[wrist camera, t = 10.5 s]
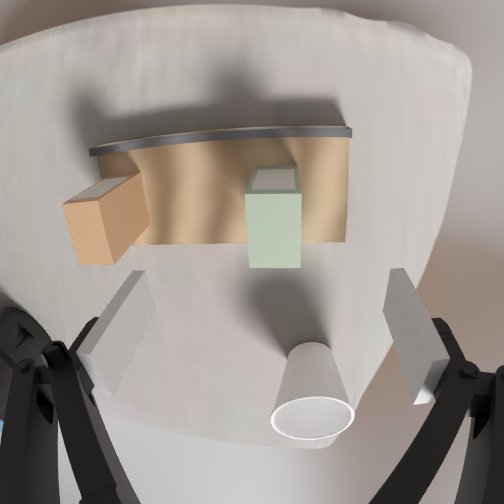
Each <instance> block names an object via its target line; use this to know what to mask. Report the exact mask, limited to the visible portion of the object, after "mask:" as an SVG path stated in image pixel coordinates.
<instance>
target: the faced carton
mask: <svg viewBox="0 0 504 504" xmlns="http://www.w3.org/2000/svg"><path fill="white" fill-rule="evenodd" d="M62 205H63V209H64V213H65V217H66V221H67V224H68V228H69V232H70V235H71V239H72V242H73V246H74V249H75V252H76V255H77V259H78V262H79V265H114V264H115V263H116V262H117V261H118V260H119V259H120V258H121V256H122V255H123V254H124V253H125V252H126V251H127V249H128V248H129V247H130V246H131V245H132V244H133V243H134V242H135V240H136V239H137V238H138V237H139V236H140V235H141V234H142V233H143V232H144V230H145V229H146V228H147V227H148V226H149V225H150V221H149V216H148V210H147V205H146V199H145V194H144V188H143V182H142V176H141V172H135V173H127V174H118V175H110V176H108V177H106V178H104V179H103V180H101V181H99V182H97V183H96V184H94V185H92V186H91V187H89V188H88V189H86V190H84V191H83V192H81V193H79V194H78V195H76V196H75V197H73V198H71V199H70V200H68V201H67V202H65V203H64V204H62Z"/></svg>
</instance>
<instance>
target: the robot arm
mask: <svg viewBox="0 0 504 504" xmlns="http://www.w3.org/2000/svg"><path fill="white" fill-rule="evenodd" d="M154 313H155V307H154V304H153V300H152V296H151V293H150V289H149V285H148V281H147V277H146V273H145V271H132V272H131V274H130V275H129V277H128V278H127V279H126V281H125V282H124V283H123V285H122V286H121V287H120V289H119V290H118V292H117V293H116V294H115V296H114V297H113V299H112V300H111V301H110V303H109V304H108V306H107V307H106V308H105V310H104V311H103V313H102V314H101V316H100V317H94V318H93V319H91V320H90V321H89V322H88V323H87V324H86V325H85V327H84V328H83V329H82V331H81V332H80V334H79V335H78V337H77V338H76V339H75V341H74V342H73V344H72V345H71V347H70V348H69V350H67V348H66V346H65V344H64V342H62V341H51V340H50V338H49V337H48V335H47V334H46V332H45V331H44V330H43V329H42V328H41V327H40V326H39V325H38V324H37V323H36V322H35V321H34V320H33V319H32V318H31V317H30V316H28V315H27V314H25V313H24V312H22V311H21V310H19V309H16V308H13V307H5V308H3V309H2V310H1V311H0V432H1V431H2V436H1V444H0V504H60V496H59V481H58V445H57V444H58V421H59V425H60V429H61V433H62V437H63V440H64V444H65V447H66V451H67V454H68V458H69V461H70V464H71V467H72V470H73V473H74V476H75V479H76V482H77V485H78V487H79V490H80V493H81V496H82V499H81V500H80V501H79V504H141V503H140V501H139V499H138V497H137V496H136V494H135V492H134V490H133V488H132V486H131V484H130V482H129V480H128V478H127V476H126V474H125V472H124V469H123V467H122V465H121V463H120V461H119V459H118V456H117V454H116V452H115V450H114V447H113V445H112V443H111V440H110V438H109V436H108V433H107V431H106V428H105V425H104V423H103V420H102V418H101V415H100V412H99V410H98V407H97V404H96V401H95V399H94V396H93V394H92V393H91V391H92V389H93V388H94V386H95V388H96V390H97V392H98V393H99V394H101V395H106V396H111V397H113V395H114V393H115V391H116V388H117V386H118V384H119V382H120V380H121V378H122V376H123V374H124V372H125V370H126V368H127V366H128V364H129V362H130V360H131V358H132V356H133V354H134V352H135V350H136V348H137V346H138V344H139V342H140V340H141V338H142V336H143V334H144V332H145V330H146V328H147V326H148V324H149V322H150V320H151V318H152V316H153V315H154ZM383 313H384V315H385V318H386V321H387V324H388V327H389V329H390V332H391V335H392V338H393V341H394V344H395V347H396V350H397V353H398V356H399V359H400V362H401V365H402V369H403V372H404V375H405V378H406V382H407V385H408V388H409V392H410V395H411V399H412V402H413V405H415V404H422V403H429V401H430V399H431V398H432V396H433V394H434V397H435V400H436V402H435V404H434V406H433V408H432V410H431V411H430V413H429V415H428V416H427V418H426V420H425V422H424V423H423V425H422V427H421V429H420V430H419V432H418V434H417V435H416V437H415V438H414V440H413V442H412V443H411V445H410V446H409V448H408V449H407V451H406V453H405V454H404V456H403V457H402V459H401V460H400V462H399V463H398V464H397V466H396V467H395V469H394V470H393V472H392V473H391V474H390V476H389V477H388V479H387V480H386V482H385V483H384V484H383V486H382V487H381V488H380V489H379V491H378V492H377V493H376V495H375V496H374V497H373V498H372V500H371V501H370V502H369V504H418V503H419V501H420V500H421V498H422V497H423V495H424V493H425V492H426V490H427V488H428V487H429V485H430V484H431V482H432V480H433V478H434V477H435V475H436V473H437V471H438V470H439V468H440V466H441V464H442V462H443V461H444V458H445V457H446V455H447V453H448V451H449V449H450V447H451V445H452V443H453V441H454V439H455V437H456V435H457V433H458V430H459V428H460V426H461V424H462V422H463V419H464V417H472V419H471V427H470V433H469V439H468V445H467V451H466V456H465V461H464V467H463V471H462V475H461V480H460V484H459V488H458V492H457V496H456V499H455V503H454V504H504V365H503V366H500V367H499V368H498V369H497V371H496V372H495V373H487V372H481V371H480V370H479V368H478V367H477V366H476V365H475V364H473V363H472V362H469V361H466V359H465V357H464V355H463V353H462V351H461V349H460V347H459V345H458V343H457V341H456V340H455V337H454V335H453V334H452V331H451V330H450V328H449V326H448V324H447V323H446V322H445V321H443V320H442V319H441V318H430V316H429V314H428V312H427V310H426V308H425V306H424V304H423V302H422V300H421V298H420V297H419V295H418V293H417V291H416V289H415V287H414V285H413V284H412V282H411V280H410V278H409V276H408V275H407V273H406V271H405V269H404V268H397V269H391V270H390V276H389V281H388V287H387V292H386V298H385V303H384V308H383Z"/></svg>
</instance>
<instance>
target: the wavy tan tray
mask: <svg viewBox="0 0 504 504" xmlns="http://www.w3.org/2000/svg"><path fill="white" fill-rule="evenodd" d="M349 138H352V129H351V128H349V127H348V126H331V125H292V126H259V127H240V128H225V129H213V130H201V131H191V132H182V133H173V134H165V135H157V136H150V137H143V138H136V139H130V140H124V141H118V142H112V143H106V144H101V145H98V146H95V147H94V148H91V149H89V153H90V157H91V156H96V155H98V158H99V164H100V169H101V175H102V180H103V179H104V178H106V177H108V176H110V175H118V174H127V173H135V172H141V176H142V182H143V188H144V194H145V199H146V205H147V210H148V216H149V221H150V225H149V226H148V227H147V228H146V229H145V230H144V232H143V233H142V234H141V235H140V236H139V237H138V238H137V239H136V240H135V242H134V243H133V244H132V245H159V244H218V243H248V241H247V225H246V210H245V192H246V189H247V187H248V184H249V182H250V179H251V177H252V174H253V172H254V169H255V167H256V166H298V173H299V179H300V186H301V193H302V214H301V242H345V236H346V220H347V199H348V167H349Z"/></svg>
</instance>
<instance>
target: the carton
mask: <svg viewBox="0 0 504 504" xmlns="http://www.w3.org/2000/svg"><path fill="white" fill-rule="evenodd" d="M245 210H246V225H247V241H248V257H249V268H301V214H302V193H301V186H300V179H299V173H298V166H256V167H255V169H254V172H253V174H252V177H251V179H250V182H249V184H248V187H247V189H246V192H245Z"/></svg>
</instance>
